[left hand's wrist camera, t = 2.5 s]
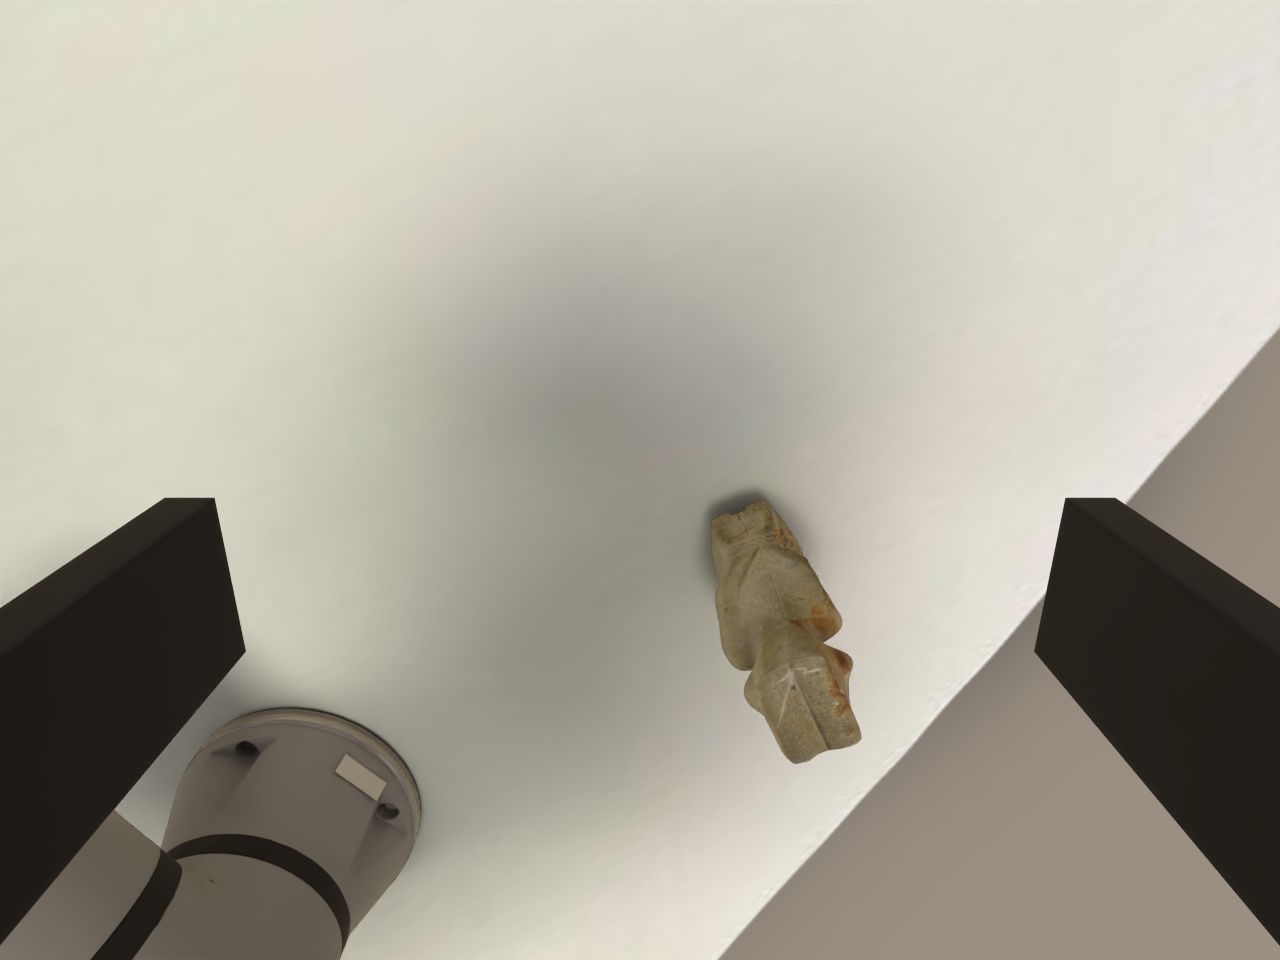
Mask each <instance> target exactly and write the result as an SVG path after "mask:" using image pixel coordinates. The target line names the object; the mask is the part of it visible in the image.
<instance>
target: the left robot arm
mask: <svg viewBox="0 0 1280 960" xmlns="http://www.w3.org/2000/svg"><path fill="white" fill-rule="evenodd" d="M245 652H246V650H245V645H244V640H243V635H242V630H241V626H240V621H239V616H238V611H237V606H236V601H235V596H234V591H233V586H232V581H231V577H230V572H229V567H228V562H227V557H226V552H225V547H224V542H223V537H222V532H221V528H220V523H219V518H218V513H217V508H216V503H215V498H164V499H162V500H161V501H159V502H158V503H156V504H155V505H153V506H152V507H150V508H149V509H147V510H146V511H144V512H143V513H141V514H140V515H139V516H137V517H136V518H134V519H133V520H131V521H130V522H128V523H127V524H125V525H124V526H122V527H121V528H119V529H118V530H116V531H115V532H113V533H112V534H110V535H109V536H107V537H106V538H104V539H103V540H101V541H100V542H98V543H97V544H95V545H94V546H92V547H91V548H89V549H88V550H86V551H85V552H83V553H82V554H80V555H79V556H77V557H76V558H74V559H73V560H71V561H70V562H68V563H67V564H65V565H64V566H62V567H61V568H59V569H58V570H56V571H55V572H53V573H52V574H50V575H49V576H48V577H46V578H45V579H43V580H42V581H40V582H39V583H37V584H36V585H34V586H33V587H31V588H30V589H28V590H27V591H25V592H24V593H22V594H21V595H19V596H18V597H16V598H15V599H13V600H12V601H10V602H9V603H7V604H6V605H4V606H3V607H1V608H0V960H340V957H341V955H342V952H343V950H344V947H345V945H346V942H347V939H348V937H349V935H350V933H351V932H352V931H353V930H354V928H355V927H356V926H357V925H358V924H359V922H360V921H361V920H362V919H363V918H364V916H365V915H366V914H367V913H368V912H369V910H370V909H371V908H372V907H373V905H374V904H375V903H376V902H377V901H378V899H379V898H380V897H381V896H382V895H383V893H384V892H385V891H386V890H387V889H388V887H389V886H390V885H391V884H392V882H393V881H394V880H395V879H396V878H397V876H398V875H399V873H400V871H401V870H402V868H403V866H404V865H405V863H406V861H407V859H408V858H409V855H410V853H411V850H412V847H413V844H414V842H415V839H416V836H417V833H418V829H419V825H420V816H421V815H420V801H419V796H418V792H417V789H416V786H415V783H414V781H413V779H412V777H411V775H410V773H409V771H408V770H407V768H406V767H405V765H404V764H403V762H402V761H401V760H400V759H399V757H398V756H397V755H396V754H395V753H394V752H393V751H392V750H391V749H390V748H389V747H388V746H387V745H386V744H384V743H383V742H382V741H381V740H380V739H378V738H377V737H375V736H374V735H373V734H371V733H370V732H368V731H366V730H365V729H363V728H361V727H359V726H357V725H355V724H353V723H351V722H349V721H346V720H344V719H341V718H339V717H336V716H332V715H329V714H325V713H321V712H317V711H310V710H303V709H275V710H267V711H261V712H256V713H253V714H249V715H246V716H244V717H241V718H238V719H236V720H234V721H232V722H230V723H228V724H227V725H225V726H224V727H222V728H221V729H219V730H218V731H217V732H216V733H214V734H213V735H212V736H211V737H210V738H209V739H208V740H207V741H206V743H205V744H204V745H203V746H202V748H201V749H200V750H199V752H198V753H197V754H196V755H195V757H194V758H193V759H192V761H191V762H190V764H189V765H188V767H187V769H186V771H185V773H184V775H183V777H182V779H181V781H180V783H179V786H178V788H177V792H176V795H175V799H174V802H173V806H172V810H171V813H170V817H169V820H168V824H167V828H166V831H165V835H164V838H163V842H162V846H161V848H160V847H158V846H157V845H156V844H155V843H154V842H152V841H151V840H150V839H149V838H147V837H146V836H145V835H144V834H143V833H141V832H140V831H139V830H138V829H136V828H135V827H134V826H133V825H131V824H130V823H129V822H128V821H127V820H125V819H124V818H123V817H122V816H120V815H119V814H118V813H117V812H116V811H114V809H115V808H116V806H117V805H118V804H119V803H120V802H121V800H122V799H123V798H124V797H125V796H126V794H127V793H128V792H129V791H130V790H131V788H132V787H133V786H134V785H135V784H136V782H137V781H138V780H139V779H140V778H141V776H142V775H143V774H144V773H145V772H146V770H147V769H148V768H149V767H150V766H151V764H152V763H153V762H154V761H155V760H156V758H157V757H158V756H159V755H160V754H161V752H162V751H163V750H164V749H165V748H166V746H167V745H168V744H169V743H170V742H171V740H172V739H173V738H174V737H175V736H176V734H177V733H178V732H179V731H180V730H181V728H182V727H183V726H184V725H185V724H186V722H187V721H188V720H189V719H190V718H191V717H192V715H193V714H194V713H195V712H196V711H197V709H198V708H199V707H200V706H201V705H202V703H203V702H204V701H205V700H206V699H207V697H208V696H209V695H210V694H211V693H212V691H213V690H214V689H215V688H216V687H217V685H218V684H219V683H220V682H221V681H222V679H223V678H224V677H225V676H226V675H227V673H228V672H229V671H230V670H231V669H232V667H233V666H234V665H235V664H236V663H237V661H238V660H239V659H240V658H241V657H242V655H243V654H244V653H245ZM1034 652H1035V653H1036V654H1037V655H1038V657H1039V658H1040V659H1041V660H1042V661H1043V663H1044V664H1045V665H1046V666H1047V667H1048V669H1049V670H1050V671H1051V672H1052V673H1053V675H1054V676H1055V677H1056V678H1057V679H1058V681H1059V682H1060V683H1061V684H1062V685H1063V687H1064V688H1065V689H1066V690H1067V691H1068V693H1069V694H1070V695H1071V696H1072V697H1073V699H1074V700H1075V701H1076V702H1077V703H1078V705H1079V706H1080V707H1081V708H1082V709H1083V711H1084V712H1085V713H1086V714H1087V715H1088V716H1089V718H1090V719H1091V720H1092V721H1093V722H1094V724H1095V725H1096V726H1097V727H1098V728H1099V730H1100V731H1101V732H1102V733H1103V734H1104V736H1105V737H1106V738H1107V739H1108V740H1109V742H1110V743H1111V744H1112V745H1113V746H1114V748H1115V749H1116V750H1117V751H1118V752H1119V754H1120V755H1121V756H1122V757H1123V758H1124V760H1125V761H1126V762H1127V763H1128V764H1129V766H1130V767H1131V768H1132V769H1133V770H1134V772H1135V773H1136V774H1137V775H1138V776H1139V778H1140V779H1141V780H1142V781H1143V782H1144V783H1145V785H1146V786H1147V787H1148V788H1149V790H1150V791H1151V792H1152V793H1153V794H1154V795H1155V797H1156V798H1157V799H1158V800H1159V802H1160V803H1161V804H1162V805H1163V806H1164V808H1165V809H1166V810H1167V811H1168V812H1169V814H1170V815H1171V816H1172V817H1173V818H1174V820H1175V821H1176V822H1177V823H1178V824H1179V825H1180V827H1181V828H1182V829H1183V830H1184V831H1185V833H1186V834H1187V835H1188V836H1189V837H1190V839H1191V840H1192V841H1193V842H1194V843H1195V845H1196V846H1197V847H1198V848H1199V849H1200V851H1201V852H1202V853H1203V854H1204V855H1205V857H1206V858H1207V859H1208V860H1209V861H1210V863H1211V864H1212V865H1213V866H1214V867H1215V869H1216V870H1217V871H1218V872H1219V873H1220V875H1221V876H1222V877H1223V878H1224V879H1225V881H1226V882H1227V883H1228V884H1229V885H1230V887H1231V888H1232V889H1233V890H1234V891H1235V893H1236V894H1237V895H1238V896H1239V897H1240V899H1241V900H1242V901H1243V902H1244V903H1245V905H1246V906H1247V907H1248V908H1249V909H1250V910H1251V912H1252V913H1253V914H1254V915H1255V917H1256V918H1257V919H1258V920H1259V921H1260V923H1261V924H1262V925H1263V926H1264V927H1265V929H1266V930H1267V931H1268V932H1269V933H1270V934H1271V936H1272V937H1273V938H1274V939H1275V940H1276V942H1277V943H1278V944H1279V945H1280V608H1279V607H1277V606H1276V605H1274V604H1273V603H1271V602H1270V601H1268V600H1267V599H1265V598H1264V597H1262V596H1261V595H1259V594H1258V593H1256V592H1255V591H1253V590H1252V589H1250V588H1249V587H1247V586H1246V585H1244V584H1243V583H1241V582H1240V581H1238V580H1237V579H1235V578H1234V577H1232V576H1231V575H1230V574H1228V573H1227V572H1225V571H1224V570H1222V569H1221V568H1219V567H1218V566H1216V565H1215V564H1213V563H1212V562H1210V561H1209V560H1207V559H1206V558H1204V557H1203V556H1201V555H1200V554H1198V553H1197V552H1195V551H1194V550H1192V549H1191V548H1189V547H1188V546H1186V545H1185V544H1183V543H1182V542H1180V541H1179V540H1177V539H1176V538H1174V537H1173V536H1171V535H1170V534H1168V533H1167V532H1165V531H1164V530H1162V529H1161V528H1159V527H1158V526H1156V525H1155V524H1153V523H1152V522H1150V521H1149V520H1147V519H1146V518H1144V517H1143V516H1141V515H1140V514H1139V513H1137V512H1136V511H1134V510H1132V509H1131V508H1129V507H1128V506H1127V505H1125V504H1124V503H1122V502H1121V501H1119V500H1118V499H1116V498H1065V503H1064V508H1063V513H1062V518H1061V523H1060V528H1059V532H1058V537H1057V542H1056V547H1055V552H1054V557H1053V562H1052V567H1051V572H1050V577H1049V581H1048V586H1047V591H1046V596H1045V601H1044V606H1043V611H1042V616H1041V621H1040V626H1039V630H1038V635H1037V640H1036V645H1035V650H1034Z"/></svg>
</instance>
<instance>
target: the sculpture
mask: <svg viewBox="0 0 1280 960" xmlns="http://www.w3.org/2000/svg"><path fill="white" fill-rule="evenodd" d="M712 557H713V562H714V568H715V572H716V575H717V579H718V581H719V586H718V588H717V590H716V593H715V603H716V609H717V615H718V620H719V627H720V636H721V643H722V648H723V651H724V654H725V655H726V657H727V659H728V660H729V662H730V663H731V664H732V665H733V666H734V667H735V668H737V669H739V670H741V671H749V670H752V671H751V673H750V676H749V678H748V680H747V682H746V684H745V687H744V695H745V698H746V700H747V702H748V703H749V705H750V706H751V707H753V708H754V709H755V710H757V711H758V712H760V713H761V714H762V715H764V716H765V719H766V721H767V723H768V725H769V727H770V729H771V730H772V732H773V734H774V736H775V739H776V741H777V743H778V745H779V747H780V749H781V750H782V752H783V754H784V755H785V756H786V757H787V758H788V759H789V760H790V761H791V762H792V763H794V764H799V763H802V762H807V761H809V760H811V759H812V758H814V757H815V756H816V755H818V754H820V753H822V752H824V751H828V750H835V749H841V748H845V747H849V746H852V745H854V744H857V743H858V742H859V741H860V740H861V732H860V729H859V726H858V723H857V721H856V719H855V716H854V714H853V712H852V709H851V706H850V700H849V676H850V674H851V671H852V668H853V661H852V659H851V657H850V656H849V655H848V654H846V653H844V652H842V651H840V650H838V649H835V648H833V647H830V646H828V645H826V644H824V642H825V641H827V640H828V639H830V638H831V637H833V636H834V635H835V634H836V633H837V632H838V631H839V630H840V629H841V627H842V618H841V616H840V614H839V612H838V611H837V609H836V607H835V606H834V604H833V603H832V601H831V599H830V598H829V596H828V594H827V593H826V591H825V590H824V588H823V586H822V585H821V583H820V581H819V579H818V577H817V575H816V573H815V572H814V570H813V569H812V568H811V566H810V564H809V562H808V560H807V559H806V558H805V557H804V555H803V553H802V551H801V549H800V547H799V545H798V543H797V541H796V539H795V537H794V536H793V534H792V533H791V531H790V530H789V528H788V527H787V525H786V524H785V523H784V521H783V520H782V519H781V518H780V517H779V516H778V515H777V514H776V513H775V511H774V510H773V509H772V507H771V506H770V505H769V503H768V502H766V501H761V502H757V503H753V504H750V505H748V506H747V507H746V509H745V511H743V512H740V513H737V514H734V515H732V514H730V513H726V514H723V515H721V516H719V517H717V518H715V519H713V520H712Z"/></svg>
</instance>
